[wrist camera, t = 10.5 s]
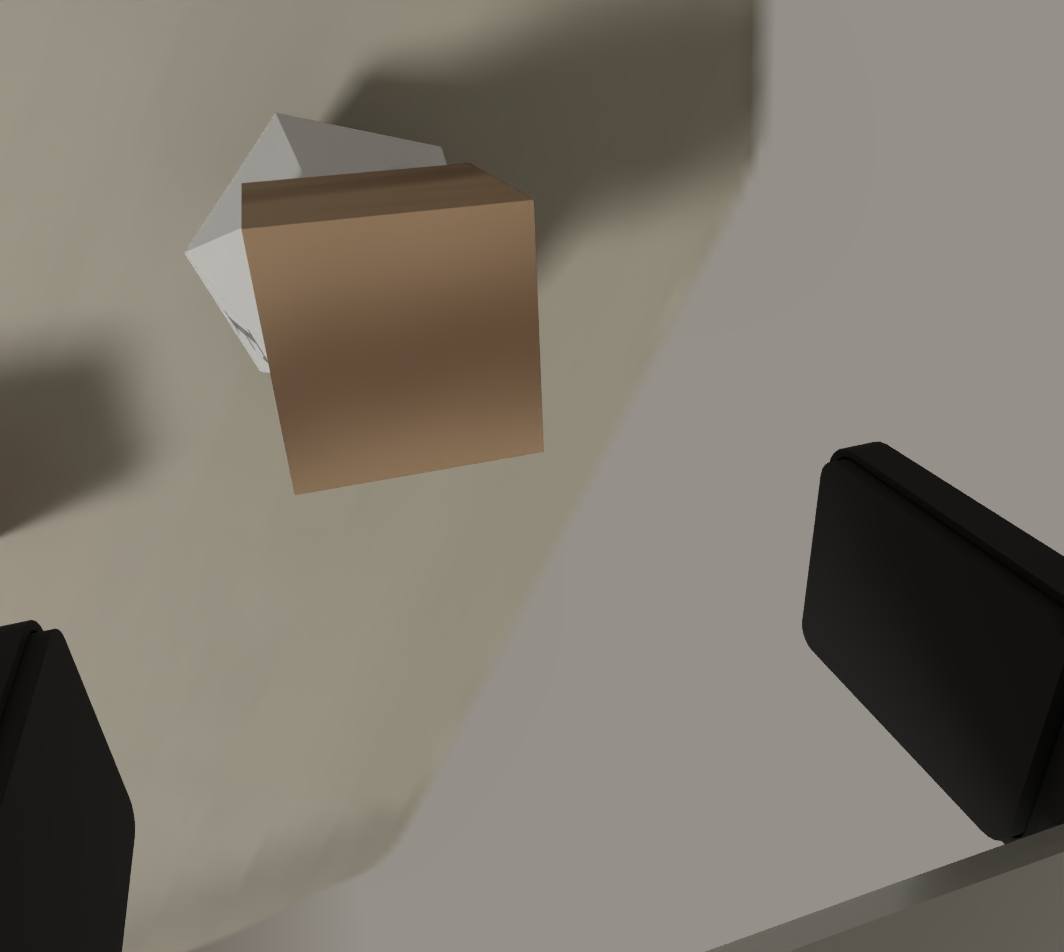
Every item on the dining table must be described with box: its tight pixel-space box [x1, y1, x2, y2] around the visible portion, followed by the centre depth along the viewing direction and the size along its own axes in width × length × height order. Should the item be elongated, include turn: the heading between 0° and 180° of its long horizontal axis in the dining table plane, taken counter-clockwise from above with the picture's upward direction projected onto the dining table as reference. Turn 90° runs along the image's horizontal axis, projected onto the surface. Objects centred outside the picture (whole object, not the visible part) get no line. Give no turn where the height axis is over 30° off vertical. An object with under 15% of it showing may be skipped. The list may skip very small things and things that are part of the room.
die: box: [184, 113, 447, 373], centre depth 27 cm, size 8×9×10 cm
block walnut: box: [241, 163, 544, 495], centre depth 21 cm, size 6×6×6 cm
